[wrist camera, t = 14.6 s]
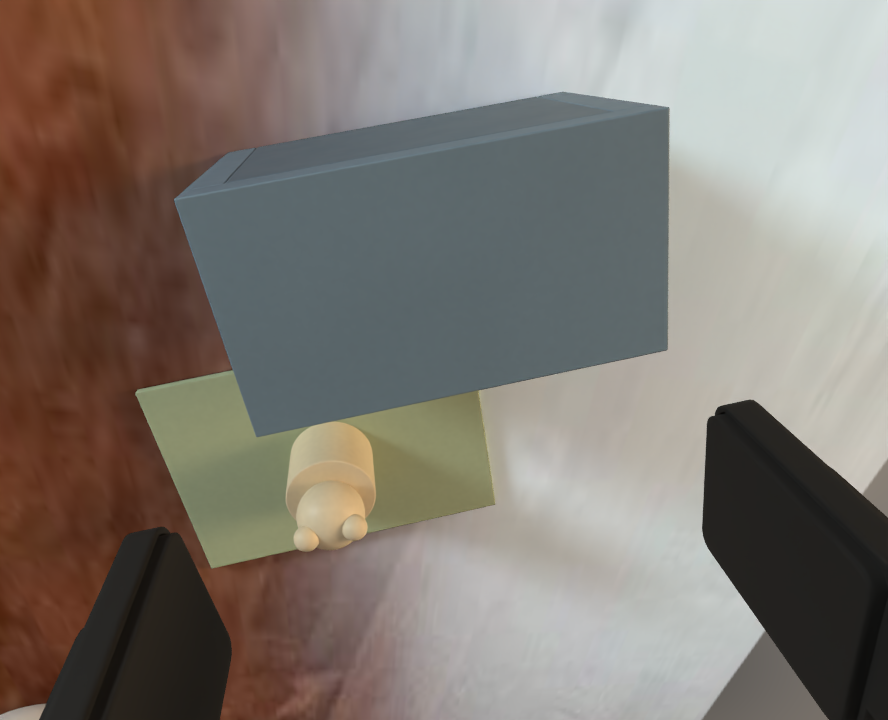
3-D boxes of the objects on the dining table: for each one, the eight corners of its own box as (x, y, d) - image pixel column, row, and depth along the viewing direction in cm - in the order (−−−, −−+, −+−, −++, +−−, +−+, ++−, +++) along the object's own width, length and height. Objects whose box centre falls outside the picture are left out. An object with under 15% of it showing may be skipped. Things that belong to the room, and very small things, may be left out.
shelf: (564, 91, 34) (670, 106, 23) (575, 268, 38) (668, 350, 27) (227, 152, 32) (172, 198, 22) (279, 328, 37) (255, 438, 26)
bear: (363, 413, 40) (368, 492, 32) (381, 486, 42) (390, 574, 35) (281, 430, 39) (268, 514, 32) (304, 503, 42) (297, 596, 35)
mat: (467, 321, 38) (468, 324, 38) (494, 500, 45) (495, 504, 44) (137, 389, 37) (134, 393, 37) (212, 563, 43) (211, 568, 43)
